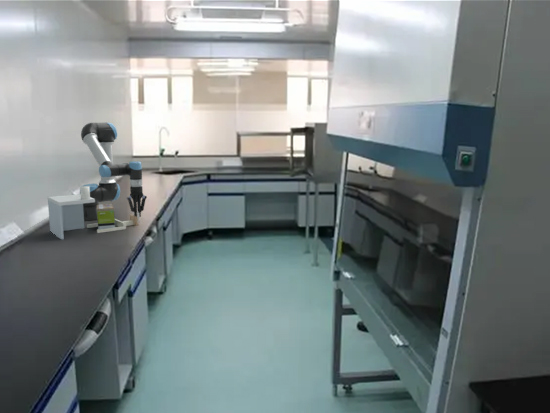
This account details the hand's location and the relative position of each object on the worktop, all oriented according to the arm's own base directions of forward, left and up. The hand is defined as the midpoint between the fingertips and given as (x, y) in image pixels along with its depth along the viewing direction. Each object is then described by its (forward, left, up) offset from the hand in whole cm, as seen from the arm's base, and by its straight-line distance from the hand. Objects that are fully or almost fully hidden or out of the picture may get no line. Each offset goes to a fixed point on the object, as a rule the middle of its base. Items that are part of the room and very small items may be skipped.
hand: (137, 222), depth 328 cm
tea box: (0, -21, -2) cm, 21 cm away
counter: (0, -41, -2) cm, 41 cm away
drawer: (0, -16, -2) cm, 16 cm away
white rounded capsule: (+8, -35, +20) cm, 41 cm away
